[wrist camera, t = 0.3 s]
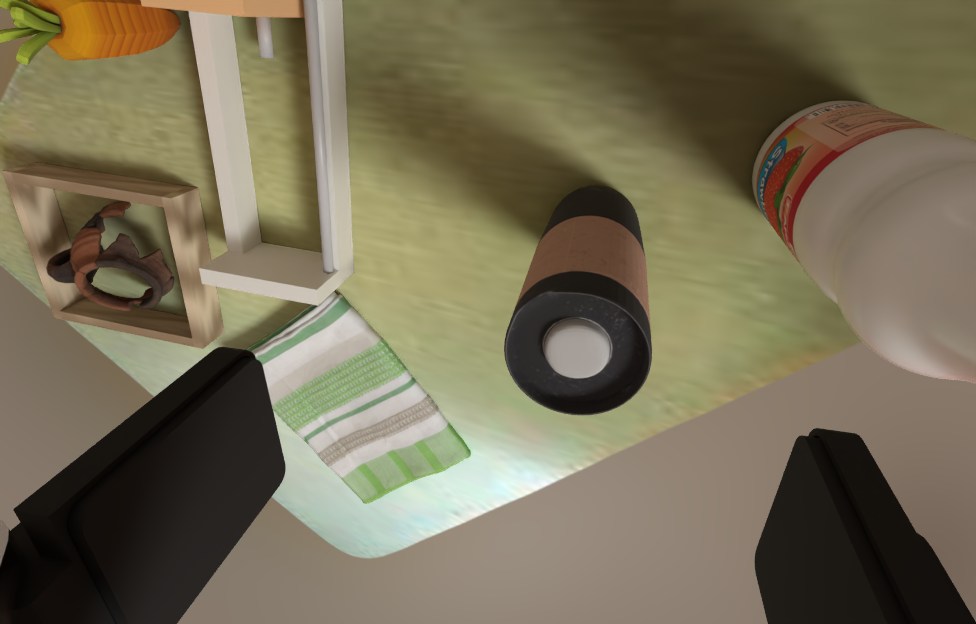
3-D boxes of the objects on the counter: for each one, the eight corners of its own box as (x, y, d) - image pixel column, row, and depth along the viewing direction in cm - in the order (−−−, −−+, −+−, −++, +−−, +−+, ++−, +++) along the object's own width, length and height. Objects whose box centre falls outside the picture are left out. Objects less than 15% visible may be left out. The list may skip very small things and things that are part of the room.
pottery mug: (150, 185, 53) (126, 244, 48) (207, 251, 60) (192, 308, 55) (37, 213, 53) (2, 274, 48) (107, 275, 61) (83, 333, 56)
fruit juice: (915, 192, 38) (1412, 482, 14) (776, 250, 42) (981, 556, 18) (872, 69, 35) (1401, 168, 11) (728, 144, 39) (894, 336, 15)
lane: (203, -65, 40) (130, -80, 34) (339, -54, 39) (287, -68, 33) (249, 254, 53) (201, 283, 47) (353, 272, 52) (318, 305, 46)
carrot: (204, 64, 45) (37, 80, 32) (150, 42, 45) (-38, 50, 32) (207, -2, 43) (26, -12, 30) (150, -24, 43) (-55, -44, 30)
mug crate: (36, 162, 54) (1, 170, 51) (197, 187, 51) (171, 198, 48) (82, 303, 61) (54, 317, 58) (224, 331, 59) (202, 348, 56)
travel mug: (631, 277, 46) (635, 431, 29) (541, 262, 47) (494, 401, 30) (652, 189, 42) (672, 305, 25) (554, 175, 43) (509, 276, 26)
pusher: (231, -9, 42) (137, -16, 34) (317, -1, 41) (241, -6, 33) (239, 51, 44) (152, 57, 36) (321, 60, 43) (250, 69, 35)
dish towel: (341, 282, 53) (324, 298, 50) (477, 447, 59) (469, 469, 56) (239, 353, 61) (219, 370, 57) (369, 492, 67) (357, 515, 64)
